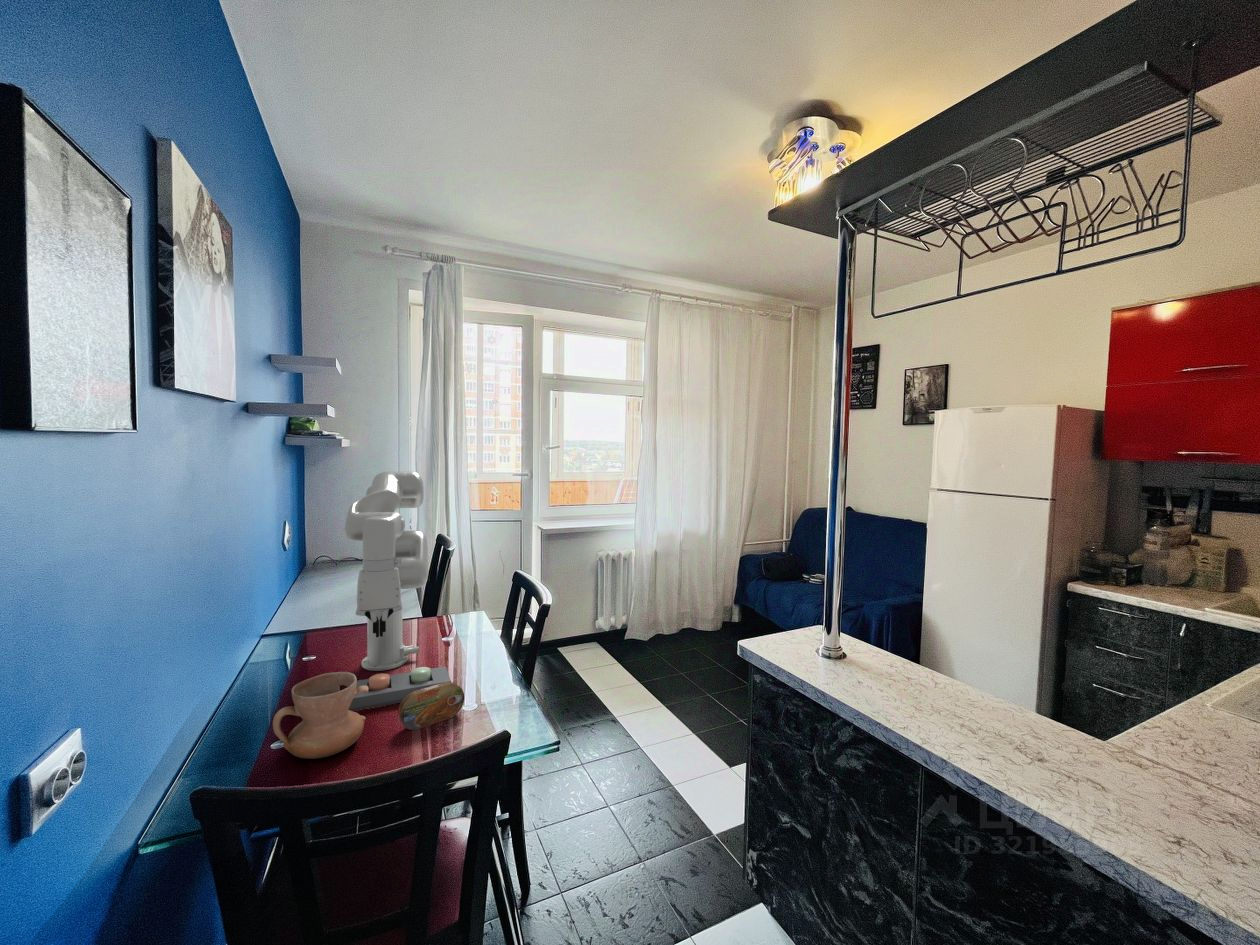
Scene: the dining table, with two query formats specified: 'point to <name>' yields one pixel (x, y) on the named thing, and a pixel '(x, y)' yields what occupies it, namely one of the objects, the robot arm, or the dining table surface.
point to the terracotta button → (379, 682)
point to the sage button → (420, 675)
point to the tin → (431, 705)
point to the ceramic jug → (322, 716)
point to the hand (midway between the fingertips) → (379, 635)
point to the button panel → (395, 689)
